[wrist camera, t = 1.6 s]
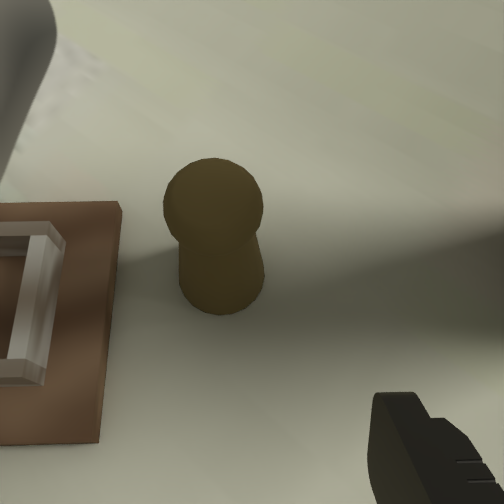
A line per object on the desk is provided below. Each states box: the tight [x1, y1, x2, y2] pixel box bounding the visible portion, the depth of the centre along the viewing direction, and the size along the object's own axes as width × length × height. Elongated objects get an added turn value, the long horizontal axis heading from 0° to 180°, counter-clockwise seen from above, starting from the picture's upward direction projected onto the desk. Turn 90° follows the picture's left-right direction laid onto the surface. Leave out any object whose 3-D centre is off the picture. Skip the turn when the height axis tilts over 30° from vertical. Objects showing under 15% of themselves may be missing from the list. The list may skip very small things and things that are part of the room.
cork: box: [163, 158, 265, 315], centre depth 28 cm, size 6×6×11 cm
